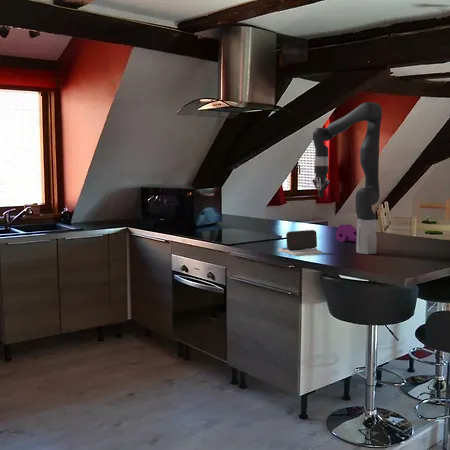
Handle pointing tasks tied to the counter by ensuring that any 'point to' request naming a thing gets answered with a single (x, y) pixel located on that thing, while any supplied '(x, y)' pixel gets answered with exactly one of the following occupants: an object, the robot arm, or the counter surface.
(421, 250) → the counter surface
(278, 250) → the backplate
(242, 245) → the counter surface
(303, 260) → the counter surface
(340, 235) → the mounting bracket
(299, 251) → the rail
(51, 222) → the counter surface
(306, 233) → the leaning round-cornered charcoal block
